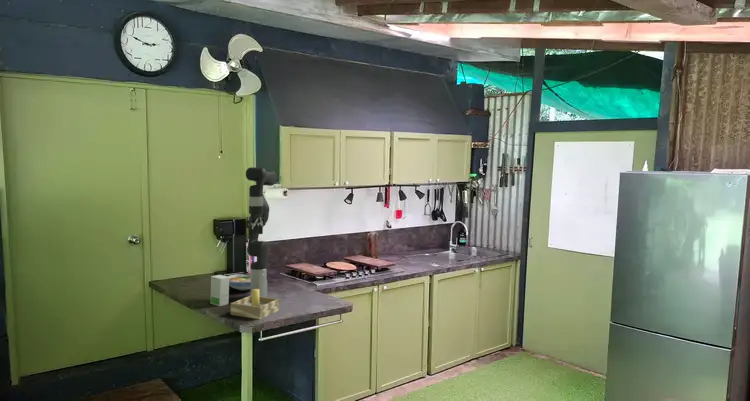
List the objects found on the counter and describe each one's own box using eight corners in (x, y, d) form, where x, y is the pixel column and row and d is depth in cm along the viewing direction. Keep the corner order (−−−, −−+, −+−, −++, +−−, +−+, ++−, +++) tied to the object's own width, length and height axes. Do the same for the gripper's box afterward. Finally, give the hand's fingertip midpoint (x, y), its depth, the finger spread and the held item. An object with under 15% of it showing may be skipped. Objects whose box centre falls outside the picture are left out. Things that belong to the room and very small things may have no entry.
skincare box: (210, 304, 289) (209, 276, 288) (219, 301, 295) (219, 274, 293) (220, 306, 284) (220, 278, 283) (229, 303, 290) (229, 276, 289)
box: (251, 306, 286) (251, 295, 286) (279, 310, 280) (279, 299, 279) (230, 314, 270) (230, 303, 269) (260, 319, 263) (260, 307, 263)
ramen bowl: (215, 290, 319) (215, 277, 318) (241, 283, 339) (241, 270, 338) (246, 296, 307) (246, 282, 306) (271, 288, 327) (271, 275, 327)
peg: (254, 310, 278) (254, 288, 277) (260, 311, 276) (261, 289, 275) (250, 312, 274) (250, 290, 273) (256, 313, 272) (256, 291, 271)
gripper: (257, 203, 286) (257, 233, 287) (242, 205, 272) (242, 236, 274) (269, 204, 283) (269, 233, 284) (254, 206, 270) (254, 237, 271)
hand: (255, 235), depth 279 cm, fingers open, 8 cm apart
